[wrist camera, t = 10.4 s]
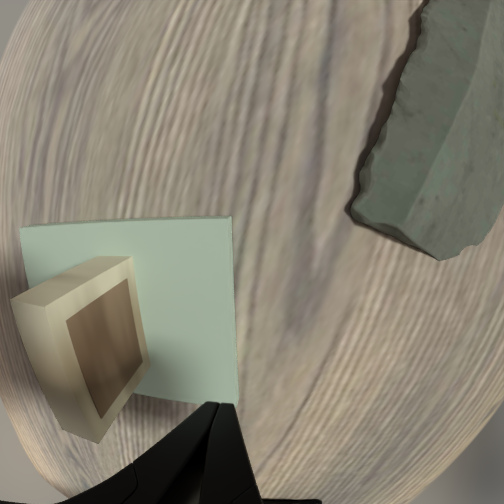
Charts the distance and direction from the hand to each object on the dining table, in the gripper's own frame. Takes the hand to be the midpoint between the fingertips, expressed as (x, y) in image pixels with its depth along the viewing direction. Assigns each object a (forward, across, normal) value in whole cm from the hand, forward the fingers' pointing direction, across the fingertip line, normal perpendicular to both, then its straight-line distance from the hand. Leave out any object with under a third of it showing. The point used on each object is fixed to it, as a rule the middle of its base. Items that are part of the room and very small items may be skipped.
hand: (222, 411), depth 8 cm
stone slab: (+7, -13, -13) cm, 20 cm away
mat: (+6, +7, 0) cm, 9 cm away
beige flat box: (+5, +6, 0) cm, 8 cm away
